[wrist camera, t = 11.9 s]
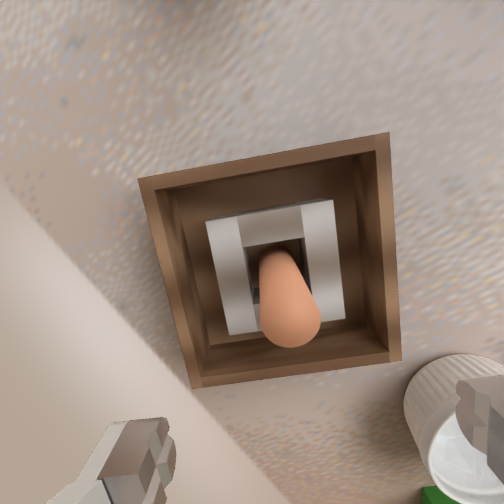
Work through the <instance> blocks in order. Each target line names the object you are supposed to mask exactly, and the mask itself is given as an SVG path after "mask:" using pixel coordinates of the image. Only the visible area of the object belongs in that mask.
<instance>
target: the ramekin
mask: <svg viewBox="0 0 504 504" xmlns="http://www.w3.org/2000/svg"><path fill="white" fill-rule="evenodd" d="M502 374H504V366H503V365H501V364H499V363H497V362H496V361H494V360H491V359H488V358H486V357H483V356H478V355H469V354H457V355H449V356H445V357H442V358H439V359H436V360H434V361H432V362H430V363H428V364H427V365H425V366H424V367H422V368H421V369H420V370H419V371H418V372H417V373H416V374H415V375H414V376H413V378H412V379H411V381H410V382H409V384H408V387H407V389H406V392H405V396H404V402H403V405H404V414H405V419H406V421H407V424H408V426H409V429H410V431H411V433H412V436H413V438H414V440H415V442H416V444H417V447H418V449H419V451H420V456H421V459H422V462H423V464H424V467H425V469H426V470H427V472H428V474H429V475H430V477H431V478H432V480H433V482H434V483H435V484H436V486H437V487H438V488H439V489H440V490H441V491H442V492H443V493H444V494H445V495H447V496H448V497H450V498H451V499H453V500H455V501H457V502H459V503H461V504H504V485H503V484H502V482H501V481H500V480H499V479H498V477H497V476H496V475H495V474H494V473H493V471H492V470H491V469H490V468H489V466H488V465H487V459H486V454H484V453H482V452H481V451H479V450H477V449H476V448H474V447H472V445H471V444H470V443H469V442H468V440H467V439H466V438H465V436H464V435H463V433H462V431H461V429H460V427H459V425H458V422H457V419H456V407H455V406H456V405H457V404H458V402H459V401H460V400H461V398H460V396H459V395H458V394H457V393H456V384H457V383H458V381H459V380H465V379H473V378H480V377H487V376H498V375H502Z"/></svg>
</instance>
